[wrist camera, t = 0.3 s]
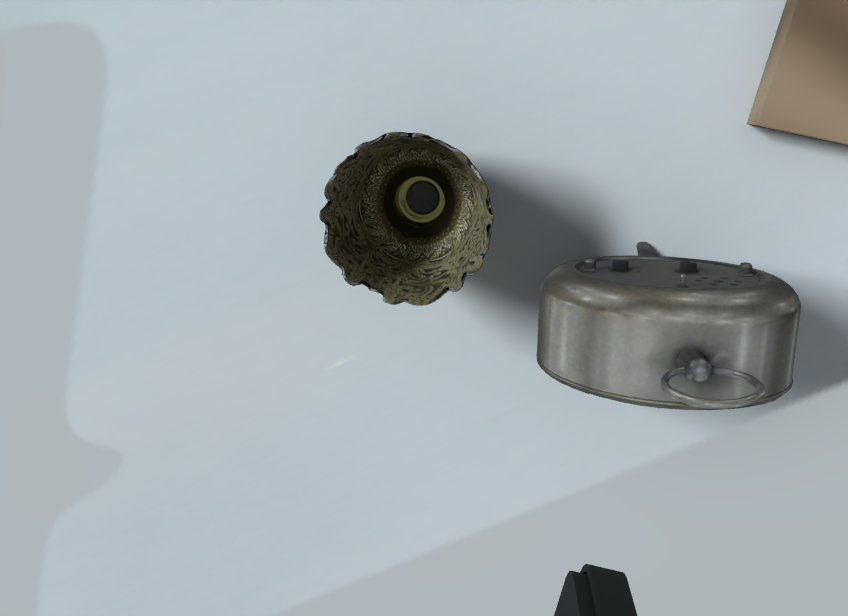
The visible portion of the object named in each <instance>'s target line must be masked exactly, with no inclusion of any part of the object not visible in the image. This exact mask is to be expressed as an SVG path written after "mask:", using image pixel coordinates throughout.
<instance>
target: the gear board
mask: <svg viewBox="0 0 848 616" xmlns="http://www.w3.org/2000/svg"><path fill="white" fill-rule="evenodd" d="M747 124H751V125H756V126H760V127H765V128H770V129H775V130H779V131H784V132H789V133H793V134H798V135H803V136H807V137H812V138H817V139H822V140H826V141H831V142H836V143H840V144H845V145H848V0H787V2H786V5H785V8H784V11H783V14H782V17H781V20H780V23H779V26H778V29H777V33H776V36H775V39H774V42H773V45H772V48H771V51H770V54H769V57H768V60H767V63H766V67H765V70H764V73H763V76H762V79H761V82H760V85H759V88H758V91H757V94H756V98H755V101H754V104H753V107H752V110H751V113H750V116H749V119H748V122H747Z"/></svg>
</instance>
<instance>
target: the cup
mask: <svg viewBox="0 0 848 616" xmlns="http://www.w3.org/2000/svg"><path fill="white" fill-rule="evenodd" d="M333 175H334V176H333V177H331V178H330V180H329V181H328V183H327V185H326V187H325V192H324V193H325V197H326V199H327V200H328V203H327V204H326V206H325V207H324V208H323V209H322V210H321V211H320V220H321V221H322V222H324V223H325V225H326V231H325V236H324V246H325V252H326V254H327V256H328V257H329V258H330V259H331V260H332V262H334V263H335V264H336V265H337V266H339V267H340V268H341V269H342V275H343V277H344V279H345V281H346V282H347V283H348V284H350V285H352V286H355V285H360V284H363V285H365V286H367V287H368V288H369V290H371V291H376V292H378V293H380V294H382V295H383V297H384V298H383V297H382V298H383V301H384V302H386V303H389V304H393V305H396V304H400V303H402V302H406V303H408V304H411V305H428V304H431V303H432V302H434V301H436V300H437V299H439V298H441V297H442V296H443V295H444V294H445V293H447V292H448V291H449V290H451V291H452V292H456V291H459V290H460V289H461V288H462V287H463V284H464V280H465V278H466V276H467V275H472V274H475V273H476V272H477V271H478V269H479V268H480V267H481V265H482V263H483V261H484V256H485V255H486V253H487V251H488V249H489V244H490V237H491V226H492V224H493V210H492V207H491V203H490V195H489V191H488V187H487V185H486V183H485V181H484V179H483V177H482V176H481V174H480V173H479V171H478V170H477V169H476V167H475V166H474V165H473V164H472V163H471V161H470V160H469V158H468V157H467V156H466V155H465V154H464V153H463V152H461V151H460V150H458V149H457V148H453V147H452V146H450V145H448V144H446V143H444V142H443V141H441V140H438V139H434V138H432V137H430V136H429V135H425V134H421V133H404V132H391V133H387V134H384V135H382V136H380V137H379V138H377V139H375V140H373V141H370V142H365V143H362V144H360V145H359V146H358V147H357V148H355V153H354V154H353V155H350V156H348V157H347V158H346V159H345V160H344V161H343V162H342V163H340V164H339V165H338V166H337V167H336V169H335V173H334V174H333ZM420 182H425V183H428V184H430V185H432V186H433V187H434V188H435V190H436V191H437V194H438V202H437V205H436V206H435V208H434V209H433V210H432V211H430V212H428V213H418V212H415V211H414V210H413V209H411V207H410V206H409V204H408V201H407V194H408V191H409V189H410V188H411V187H412V186H413V185H414V184H416V183H420ZM358 283H359V284H358Z"/></svg>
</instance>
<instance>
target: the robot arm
mask: <svg viewBox="0 0 848 616" xmlns="http://www.w3.org/2000/svg"><path fill="white" fill-rule="evenodd" d="M554 616H637V613H636V609H635V606H634V603H633V599H632V595H631V592H630V588H629V584H628V581H627V578H626V576H625V574H624V573H623V572H619V571H615V570H610V569H606V568H602V567H598V566H594V565H589V564H585V565H584V566H583V568H582V570H581V572H580V573H578V572H574V571H569V573H568V575H567V576H566V579H565V582H564V586H563V589H562V592H561V595H560V598H559V602H558V605H557V608H556V611H555V614H554Z"/></svg>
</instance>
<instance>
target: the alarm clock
mask: <svg viewBox="0 0 848 616" xmlns="http://www.w3.org/2000/svg"><path fill="white" fill-rule="evenodd" d="M637 250H638V256H604V257H593V258H586V259H580V260H575V261H571V262H568V263H565V264H563V265H561V266H559V267H557V268H555V269H553V270H552V271H551V272H550V273H549V274H548V275H547V276H546V277H545V279H544V280H543V282H542V284H541V288H540V302H539V320H538V343H537V362H538V364H539V366H540V367H541V368H542V369H543V370H544V371H545V372H546V373H547V374H548V375H549V376H551V377H552V378H554V379H556V380H557V381H559V382H560V383H562V384H565V385H568V386H570V387H571V388H574V389H577V390H579V391H583V392H585V393H587V394H593V395H596V396H599V397H603V398H608V399H612V400H616V401H620V402H624V403H630V404H634V405H640V406H648V407H656V408H668V409H683V410H720V409H735V408H744V407H750V406H756V405H761V404H766V403H768V402H771V401H774V400H776V399H778V398H779V397H781V396H782V395H784V394H785V393H786V392H787V391H788V390H789V389H790V388H791V386H792V383H793V379H792V374H793V364H794V357H795V349H796V341H797V333H798V326H799V318H800V309H801V305H800V300H799V298H798V296H797V294H796V292H795V291H794V289H793V288H792V287H791V286H790V285H788V284H787V283H786V282H784V281H783V280H781V279H780V278H778V277H776V276H774V275H771V274H769V273H766V272H764V271H760V270H757V269H753V268H752V265H751V264H750V263H747V262H746V263H741V265H735V264H729V263H723V262H716V261H708V260H700V259H689V258H677V257H660V256H657V255H653V253H652V250H651V247H650V246H649V244H648V243H647V242H639V243H638V244H637Z"/></svg>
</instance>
